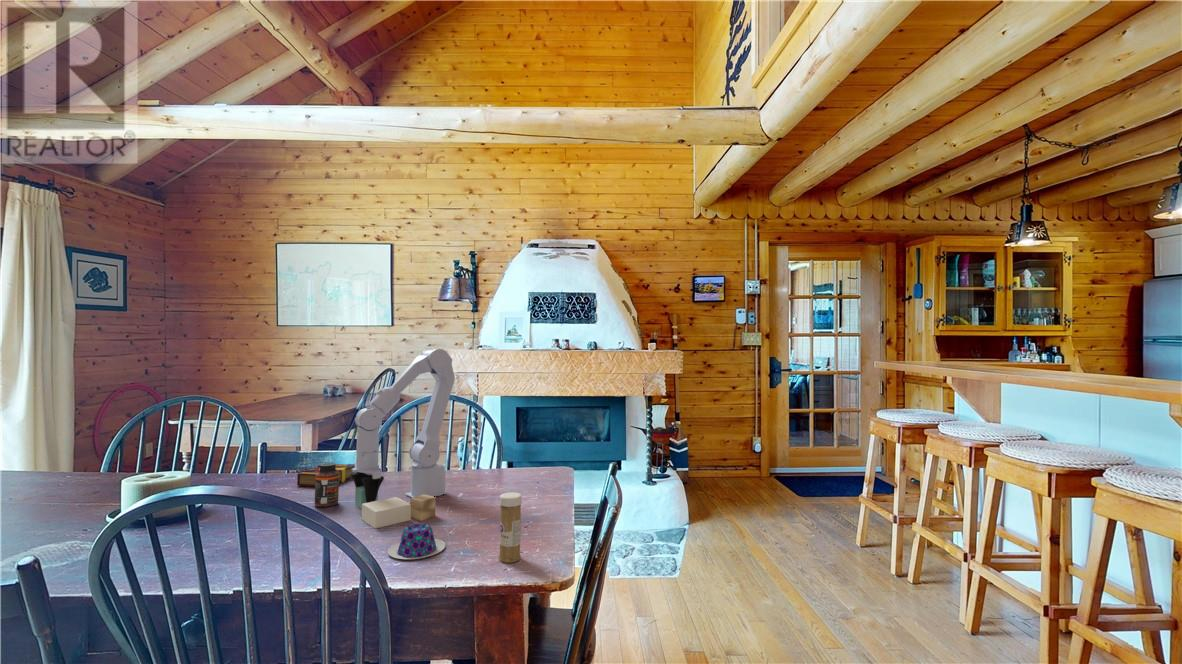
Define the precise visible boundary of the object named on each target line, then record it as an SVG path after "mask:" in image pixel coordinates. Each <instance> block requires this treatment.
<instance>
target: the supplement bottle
mask: <svg viewBox="0 0 1182 664" xmlns="http://www.w3.org/2000/svg"><path fill="white" fill-rule="evenodd" d="M336 464H337V463H335V462H325V463H324V462H323V463H321V464H319V465H320V471H319V472H318V473H317V474H316V480H315V487H314V506H315V507H319V508H328V507H332V506H335V505H337V504H338V503H339V492H340V491H339V485H340V483H339V472H338V471H337V470H336V469H335V468H336Z"/></svg>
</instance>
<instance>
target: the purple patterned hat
mask: <svg viewBox="0 0 1182 664" xmlns="http://www.w3.org/2000/svg"><path fill="white" fill-rule="evenodd" d="M400 538H401V539H400V541H399V542H397V543H395V544H392V545H391V546H390V547H389V548H388V549H387V555H389V557H392V558H395V559H398V560H399V559H400V560H417V559H424V558H428V557H431V556H434V555H437V554H438V553H440V552H442V551H443V550H444V549H445V548H446V542H445V541H443V540H441V539H438V538H435V536H434V532H433V527H432V526H430V524H427V523H413V524H410V525H406V526H405V527H404V528H403V530H402V534H401V537H400ZM436 546H438V548H437V547H436Z"/></svg>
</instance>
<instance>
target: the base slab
mask: <svg viewBox="0 0 1182 664" xmlns="http://www.w3.org/2000/svg"><path fill="white" fill-rule="evenodd" d="M411 520H412V518H411V504H410V502H408V501H405V500H403V499H401V498H399V497H397V496H394V497H388V498H384V499H380V500H379V499H378V501H373V502H368V503H363V504H362V509H361V521H363V522H365V523H366V524H367V525H369V526H371V527H372V528H374V529H378V528H383V527H387V526H391V525H396V524H401V523H405V522H409V521H411Z"/></svg>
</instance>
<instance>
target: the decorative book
mask: <svg viewBox="0 0 1182 664" xmlns="http://www.w3.org/2000/svg"><path fill="white" fill-rule="evenodd" d="M335 464H336V468H335V469H336V470H337V471H338V472H339V484H340V482H343V483H345V482H346V481H348V480H351V479H350V478H352V477H351V473H356V472H352V468H354V463H347V464H343V463H335ZM320 465H321V464H319V465H317V467H314V468H308V469H305V470H303V471H302V472H298V473H297V481H296V485H297V487H314V488H315V480H316V474H317V473H318V472H319V471H320ZM347 479H348V480H347ZM352 479H353V478H352ZM344 481H345V482H344Z"/></svg>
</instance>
